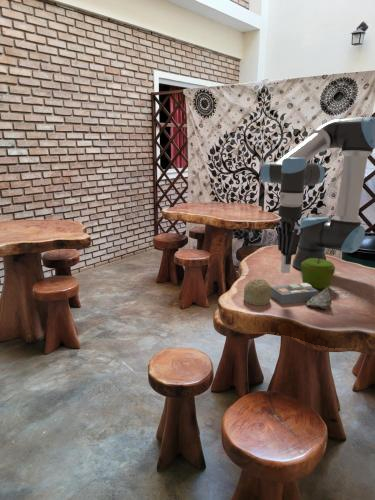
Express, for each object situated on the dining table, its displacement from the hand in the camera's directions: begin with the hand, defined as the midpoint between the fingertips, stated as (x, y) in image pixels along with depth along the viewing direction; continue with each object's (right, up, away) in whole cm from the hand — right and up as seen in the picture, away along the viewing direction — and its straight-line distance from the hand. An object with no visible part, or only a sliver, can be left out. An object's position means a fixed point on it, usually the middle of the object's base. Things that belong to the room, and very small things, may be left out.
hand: (285, 272), depth 126 cm
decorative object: (-10, -10, +1) cm, 14 cm away
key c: (0, -8, +2) cm, 9 cm away
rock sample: (+11, -12, -4) cm, 16 cm away
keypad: (+4, -9, +4) cm, 11 cm away
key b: (+4, -7, +3) cm, 9 cm away
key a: (+8, -7, +4) cm, 11 cm away
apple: (+16, -7, +15) cm, 23 cm away
